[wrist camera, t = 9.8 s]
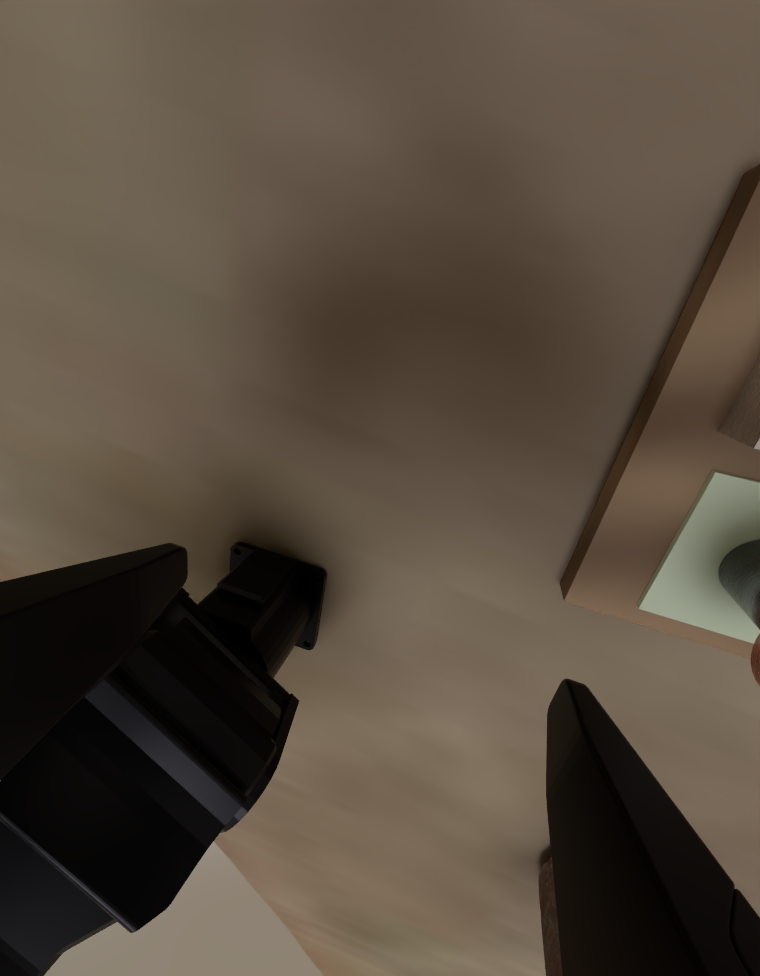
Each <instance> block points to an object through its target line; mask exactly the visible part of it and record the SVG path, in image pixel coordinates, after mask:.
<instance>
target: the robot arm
mask: <svg viewBox="0 0 760 976" xmlns="http://www.w3.org/2000/svg"><path fill="white" fill-rule="evenodd" d="M238 549H240V551H241V552H240V551H239V550H238ZM187 575H188V569H187V551H186V549H185V548H184V547H182V546H179V545H176V544H173V543H167V544H162V545H158V546H154V547H150V548H145V549H141V550H137V551H132V552H128V553H124V554H119V555H115V556H111V557H106V558H102V559H98V560H93V561H89V562H85V563H80V564H76V565H72V566H68V567H63V568H59V569H55V570H50V571H46V572H42V573H37V574H33V575H29V576H24V577H20V578H16V579H11V580H7V581H3V582H0V780H1V781H0V976H44V975H45V973H46V972H47V971H48V970H49V969H50V967H51V966H52V965H53V964H54V963H55V962H56V960H57V959H58V958H59V957H60V956H61V954H62V953H63V952H65V951H66V950H68V949H70V948H71V947H73V946H75V945H77V944H79V943H80V942H82V941H84V940H86V939H87V938H89V937H91V936H92V935H95V934H96V933H98V932H100V931H101V930H103V929H105V928H107V927H109V926H110V925H112V924H114V923H116V922H118V923H120V924H121V925H122V926H123V927H124V928H125V929H127V930H128V931H129V932H130V933H132V932H135V931H137V930H139V929H140V928H141V927H143V926H144V925H146V924H147V923H148V922H150V921H151V920H152V919H153V918H155V917H156V916H158V915H159V914H160V913H162V912H163V911H164V910H165V909H166V908H167V907H168V906H169V905H170V904H171V902H172V901H173V900H174V898H175V896H176V895H177V893H178V892H179V890H180V889H181V887H182V886H183V884H184V883H185V881H186V880H187V878H188V877H189V875H190V874H191V872H192V871H193V869H194V868H195V866H196V865H197V863H198V862H199V861H200V859H201V858H202V856H203V855H204V853H205V852H206V850H207V849H208V847H209V846H210V845H211V843H212V842H213V841H214V840H215V838H216V837H217V836H218V835H219V833H222V832H226V831H227V830H229V829H231V828H232V827H233V826H234V825H236V824H237V823H238V822H239V821H240V820H241V819H242V818H243V817H244V816H245V815H246V814H247V813H248V811H249V810H250V809H251V808H252V806H253V805H254V804H255V803H256V801H257V800H258V798H259V797H260V796H261V794H262V793H263V791H264V790H265V788H266V786H267V785H268V783H269V782H270V780H271V778H272V776H273V774H274V772H275V770H276V768H277V766H278V763H279V761H280V758H281V755H282V752H283V749H284V746H285V742H286V739H287V736H288V733H289V730H290V727H291V724H292V721H293V718H294V715H295V712H296V709H297V706H298V703H299V700H298V699H297V698H296V697H295V696H294V695H293V694H289V693H288V692H287V691H286V690H285V689H284V688H283V687H282V686H281V685H280V684H279V683H278V682H277V681H276V680H275V679H273V678H274V677H275V675H276V674H277V672H278V670H279V669H280V667H281V666H282V664H283V663H284V661H285V660H286V658H287V657H288V655H289V653H290V652H291V650H292V649H293V647H294V646H298V647H301V648H303V649H306V650H312V649H313V648H314V646H315V644H316V641H317V634H318V628H319V622H320V615H321V609H322V603H323V596H324V590H325V583H326V573H325V571H324V570H323V569H321V568H318V567H315V566H312V565H309V564H306V563H303V562H300V561H297V560H294V559H291V558H288V557H285V556H282V555H279V554H276V553H273V552H270V551H267V550H264V549H261V548H258V547H255V546H252V545H249V544H246V543H243V542H237V543H235V544H234V545H233V546H232V547H231V557H230V573H229V574H227V575H226V576H225V577H224V578H223V579H222V580H221V581H220V582H219V583H218V584H217V587H216V588H215V589H214V590H213V591H212V592H210V593H209V594H208V595H207V596H206V597H205V598H204V599H203V600H202V601H201V602H199V603H198V604H196V603H195V602H194V601H193V600H192V599H191V598H190V597H189V594H188V593H187V592H186V591H185V590H184V589H183V588H181V587H182V586H183V585H184V583H185V582H186V579H187ZM316 575H318V576H319V577H320V578H318V577H317V576H316ZM307 641H308V642H309V643H308V642H307ZM546 798H547V812H548V823H549V834H550V846H551V857H552V868H553V879H554V890H555V901H556V912H557V924H558V935H559V946H560V957H561V968H562V976H760V917H759V916H758V915H757V913H756V912H755V911H754V909H753V908H752V907H751V905H750V904H749V903H748V901H747V900H746V899H745V897H744V896H743V895H742V893H741V892H740V891H739V890H738V889H734V887H735V886H734V883H733V881H732V880H731V879H730V877H729V876H728V875H727V873H726V872H725V871H724V869H723V868H722V867H721V865H720V864H719V863H718V861H717V860H716V859H715V857H714V856H713V855H712V853H711V852H710V851H709V849H708V848H707V847H706V845H705V844H704V843H703V841H702V840H701V838H700V837H699V836H698V834H697V833H696V832H695V830H694V829H693V828H692V826H691V825H690V824H689V822H688V821H687V820H686V818H685V817H684V816H683V814H682V813H681V812H680V810H679V809H678V808H677V806H676V805H675V804H674V802H673V801H672V800H671V798H670V797H669V796H668V794H667V793H666V792H665V790H664V789H663V788H662V786H661V785H660V784H659V782H658V781H657V780H656V778H655V777H654V776H653V774H652V773H651V771H650V770H649V769H648V767H647V766H646V765H645V763H644V762H643V761H642V759H641V758H640V757H639V755H638V754H637V753H636V751H635V750H634V749H633V747H632V746H631V745H630V743H629V742H628V741H627V739H626V738H625V737H624V735H623V734H622V733H621V731H620V730H619V729H618V727H617V726H616V725H615V723H614V722H613V721H612V719H611V718H610V717H609V715H608V714H607V713H606V711H605V710H604V709H603V707H602V706H601V704H600V703H599V702H598V700H597V699H596V698H595V696H594V695H593V694H592V692H591V691H590V690H589V688H588V687H587V686H586V685H584V684H582V683H579V682H576V681H573V680H570V679H564V680H563V681H562V682H561V683H560V685H559V687H558V689H557V691H556V693H555V695H554V697H553V699H552V701H551V703H550V705H549V708H548V714H547V760H546Z"/></svg>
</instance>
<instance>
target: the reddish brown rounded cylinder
mask: <svg viewBox="0 0 760 976" xmlns="http://www.w3.org/2000/svg"><path fill="white" fill-rule="evenodd" d="M718 577H719V581H720V583H721V585H722V586H723V587H724V589H725V590H726V591H727V592H728V593H729V595H730V596H731V597H732V598H733V599H734V600H735V602H736V603H737V604H738V605H739V606H740V607H741V609H742V610H743V611H744V612H745V613H746V615H747V616H748V617H749V618H750V619H751V620H752V622H753V623H754V624H755V625H756V626H757V627H758V629H759V630H760V539H759V540H753V541H750V542H746V543H744V544H741V545H739V546H737V547H736V548H734V549H733V550H731V551H730V552H729V553H728V554H727V555H726V556H725V557H724V558H723V560H722V561H721V563H720V566H719V570H718ZM751 668H752V672H753V675H754V677H755V679H756V681H757V683H758V684H759V686H760V634H759V635H758V637H757V638H756V640H755V643H754V645H753V648H752V652H751Z"/></svg>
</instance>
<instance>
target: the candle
mask: <svg viewBox="0 0 760 976" xmlns="http://www.w3.org/2000/svg"><path fill="white" fill-rule="evenodd" d="M539 900H540V910H541V924H542V936H543V947H544V958H545V969H546V976H562V968H561V957H560V946H559V935H558V924H557V912H556V901H555V890H554V879H553V868H552V857H550V858H549V859H548V861H547V862H546V863H544V864H543V865H542V867H541V872H540V874H539Z"/></svg>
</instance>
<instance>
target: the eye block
mask: <svg viewBox="0 0 760 976" xmlns="http://www.w3.org/2000/svg"><path fill="white" fill-rule="evenodd" d="M718 432H720V433H722V434H724V435H726V436H728V437H730V438H732V439H735V440H737V441H739V442H741V443H743V444H745V445H748V446H750V447H752V448H754V449H759V450H760V355H759V357H758V358H757V360H756V362H755V364H754V366H753V368H752V369H751V371H750V373H749V375H748V377H747V379H746V380H745V382H744V384H743V386H742V388H741V390H740V391H739V393H738V395H737V397H736V399H735V401H734V403H733V404H732V406H731V408H730V410H729V412H728V414H727V415H726V417H725V419H724V421H723V423H722V425H721V426H720V428H719V430H718Z"/></svg>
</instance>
